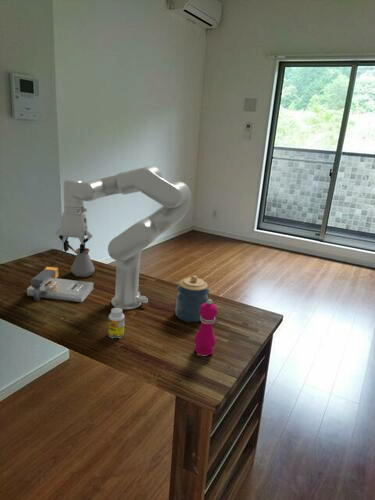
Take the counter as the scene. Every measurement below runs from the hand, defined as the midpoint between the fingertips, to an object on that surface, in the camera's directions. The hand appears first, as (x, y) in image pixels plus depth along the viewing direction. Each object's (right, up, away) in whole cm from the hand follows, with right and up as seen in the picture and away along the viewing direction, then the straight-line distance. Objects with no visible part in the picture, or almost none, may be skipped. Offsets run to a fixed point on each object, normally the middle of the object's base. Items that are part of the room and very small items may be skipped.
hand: (74, 251), depth 158 cm
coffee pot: (-8, -11, +30) cm, 32 cm away
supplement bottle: (+22, -30, -23) cm, 44 cm away
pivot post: (-15, -20, -3) cm, 25 cm away
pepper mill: (+54, -35, -28) cm, 70 cm away
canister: (+49, -27, -4) cm, 56 cm away
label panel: (-8, -18, +6) cm, 20 cm away
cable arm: (-13, -14, +2) cm, 19 cm away
